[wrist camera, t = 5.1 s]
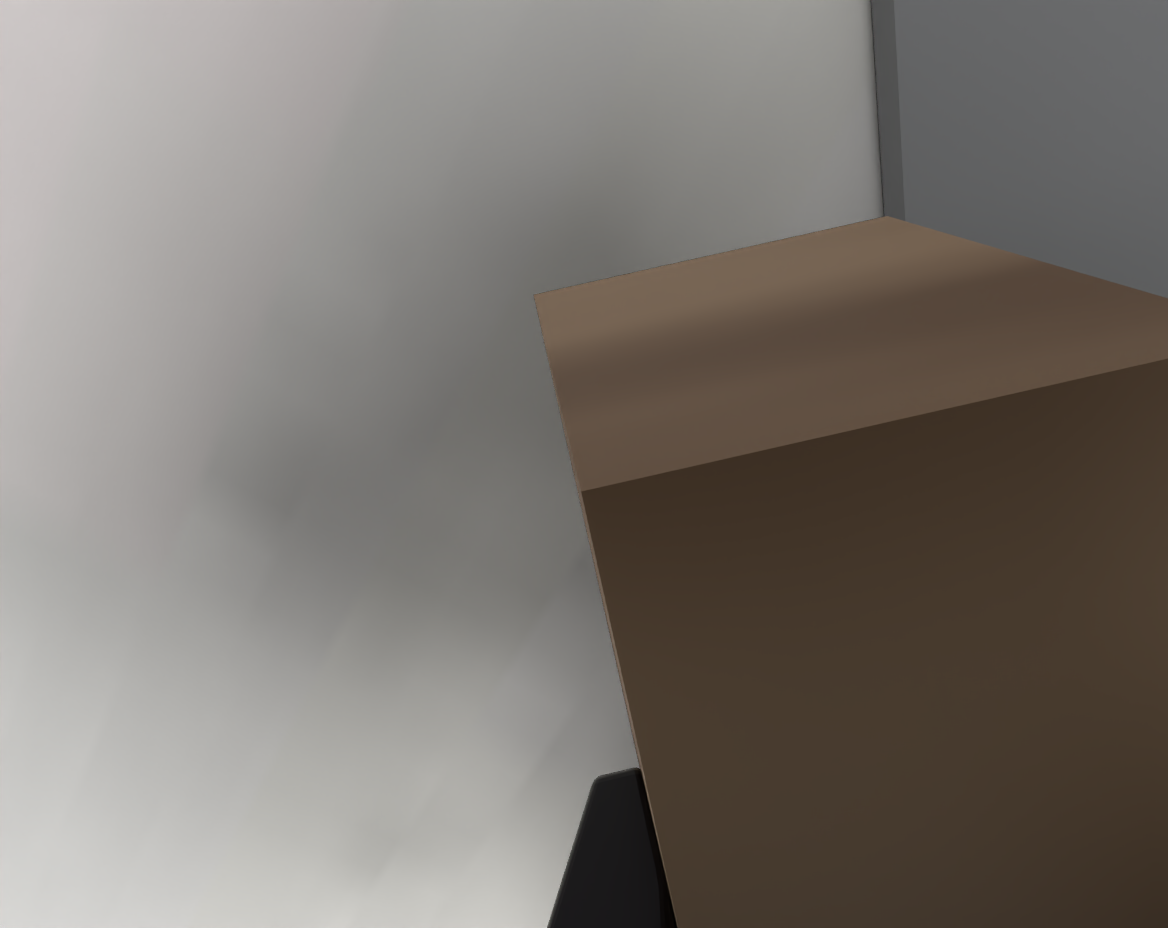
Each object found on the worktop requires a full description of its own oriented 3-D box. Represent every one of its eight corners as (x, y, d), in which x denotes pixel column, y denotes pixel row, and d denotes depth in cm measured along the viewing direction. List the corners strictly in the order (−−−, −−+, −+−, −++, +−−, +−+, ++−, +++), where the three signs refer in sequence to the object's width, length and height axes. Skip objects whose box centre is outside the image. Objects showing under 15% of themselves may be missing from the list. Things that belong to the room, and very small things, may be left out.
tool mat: (1542, -686, 11) (1616, -738, 10) (1296, 725, 21) (1325, 749, 20) (839, -531, 11) (864, -572, 10) (920, 816, 21) (936, 843, 20)
